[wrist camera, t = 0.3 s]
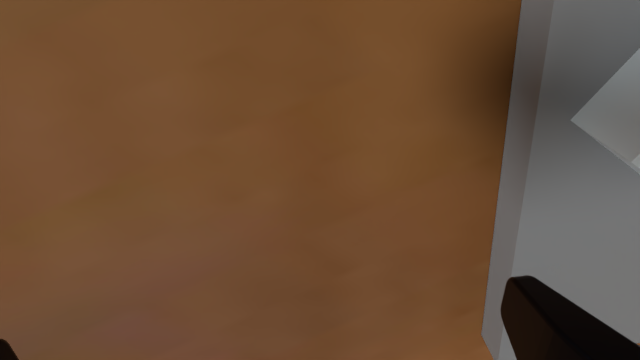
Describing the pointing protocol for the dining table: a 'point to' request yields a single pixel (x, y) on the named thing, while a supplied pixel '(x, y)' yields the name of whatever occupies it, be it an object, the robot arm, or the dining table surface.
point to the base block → (616, 114)
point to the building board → (566, 170)
